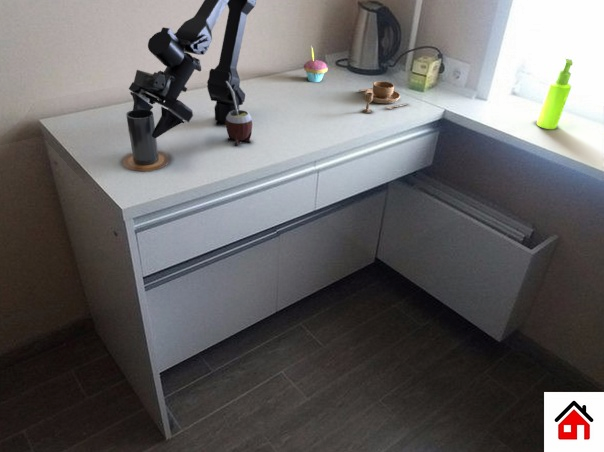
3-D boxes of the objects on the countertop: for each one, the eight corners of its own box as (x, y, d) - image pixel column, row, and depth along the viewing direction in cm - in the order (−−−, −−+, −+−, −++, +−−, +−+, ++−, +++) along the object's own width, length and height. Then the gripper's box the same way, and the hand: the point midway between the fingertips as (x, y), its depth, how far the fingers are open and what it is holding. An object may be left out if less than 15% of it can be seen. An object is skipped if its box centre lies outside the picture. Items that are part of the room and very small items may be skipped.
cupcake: (301, 82, 178) (303, 48, 171) (305, 75, 185) (307, 42, 178) (325, 84, 177) (327, 50, 170) (327, 77, 184) (330, 44, 177)
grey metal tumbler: (161, 154, 125) (155, 109, 118) (155, 165, 120) (149, 119, 113) (136, 154, 125) (130, 108, 118) (130, 165, 120) (123, 118, 113)
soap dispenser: (555, 122, 158) (578, 59, 147) (557, 130, 152) (580, 65, 141) (535, 119, 159) (557, 56, 148) (536, 127, 154) (558, 62, 143)
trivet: (173, 151, 127) (173, 151, 127) (163, 172, 118) (163, 171, 118) (129, 150, 127) (129, 149, 127) (117, 170, 118) (117, 169, 118)
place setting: (413, 104, 165) (416, 87, 162) (367, 114, 155) (369, 96, 152) (378, 88, 177) (380, 71, 174) (333, 97, 167) (335, 79, 164)
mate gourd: (248, 148, 131) (247, 93, 123) (219, 144, 132) (217, 89, 124) (255, 137, 137) (255, 83, 129) (228, 133, 138) (226, 80, 130)
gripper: (129, 47, 117) (95, 103, 116) (177, 66, 107) (139, 127, 106) (161, 73, 126) (130, 125, 126) (208, 93, 116) (174, 149, 116)
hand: (142, 131), depth 118 cm, fingers open, 9 cm apart
